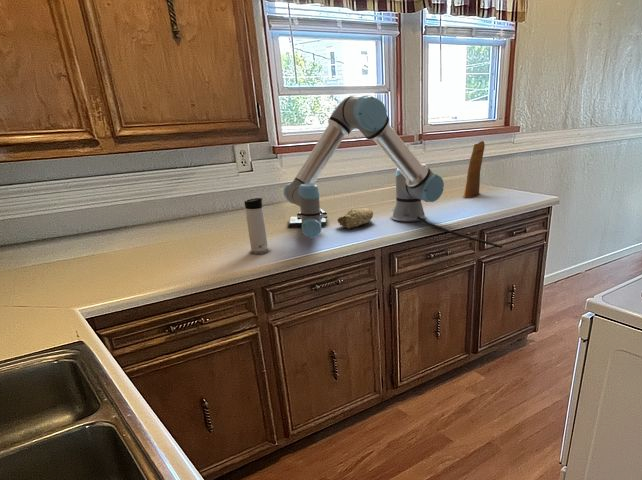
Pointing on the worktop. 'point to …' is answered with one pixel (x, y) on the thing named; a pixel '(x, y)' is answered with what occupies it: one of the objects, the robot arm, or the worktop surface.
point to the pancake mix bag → (474, 171)
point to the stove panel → (298, 223)
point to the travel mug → (256, 226)
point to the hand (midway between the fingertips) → (312, 207)
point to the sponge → (355, 217)
